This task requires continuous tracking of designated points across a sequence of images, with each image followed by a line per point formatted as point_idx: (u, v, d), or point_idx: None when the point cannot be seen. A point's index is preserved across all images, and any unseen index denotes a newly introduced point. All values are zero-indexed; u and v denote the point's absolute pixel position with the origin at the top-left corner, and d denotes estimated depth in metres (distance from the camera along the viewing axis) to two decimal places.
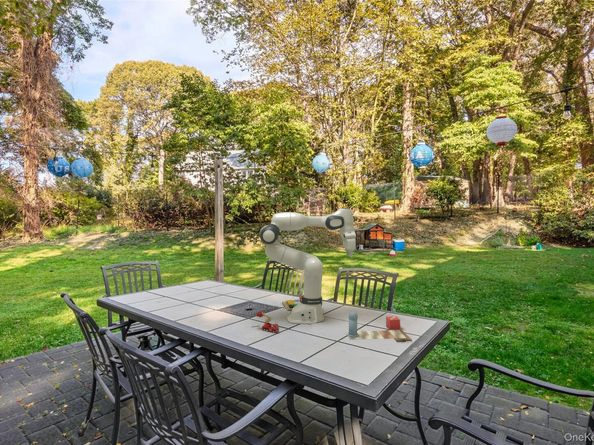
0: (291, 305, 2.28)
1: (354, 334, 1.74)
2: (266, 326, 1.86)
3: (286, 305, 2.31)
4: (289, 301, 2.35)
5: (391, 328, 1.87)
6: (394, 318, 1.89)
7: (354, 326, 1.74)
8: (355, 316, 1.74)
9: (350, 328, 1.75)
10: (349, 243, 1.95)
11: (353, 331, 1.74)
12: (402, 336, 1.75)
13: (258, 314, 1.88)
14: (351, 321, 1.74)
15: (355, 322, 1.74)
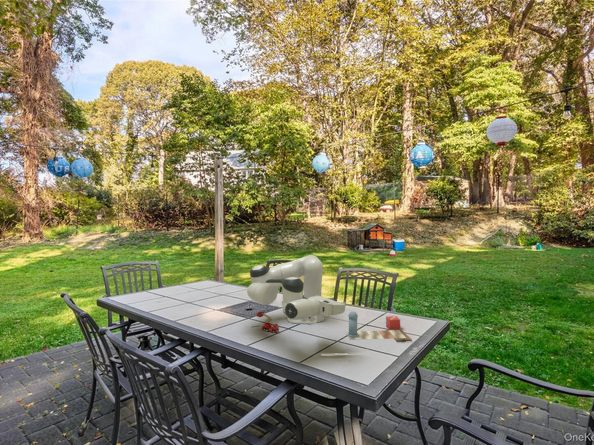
0: None
1: (354, 334, 1.74)
2: (266, 326, 1.86)
3: None
4: None
5: (391, 328, 1.87)
6: (394, 318, 1.89)
7: (354, 326, 1.74)
8: (355, 316, 1.74)
9: (350, 328, 1.75)
10: (338, 312, 1.53)
11: (353, 331, 1.74)
12: (402, 336, 1.75)
13: (258, 314, 1.88)
14: (351, 321, 1.74)
15: (355, 322, 1.74)
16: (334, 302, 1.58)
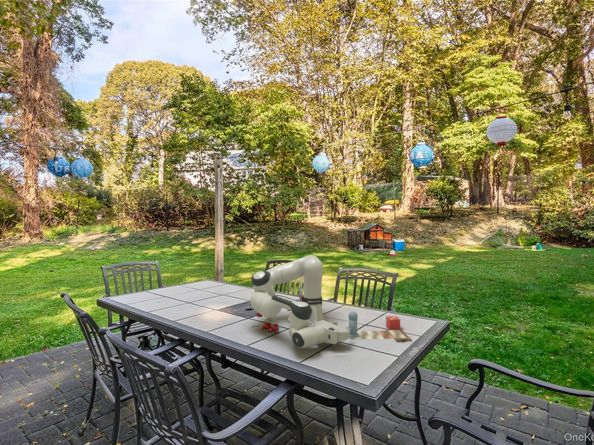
0: None
1: (354, 334, 1.74)
2: (266, 326, 1.86)
3: None
4: None
5: (391, 328, 1.87)
6: (394, 318, 1.89)
7: (354, 326, 1.74)
8: (355, 316, 1.74)
9: None
10: (343, 339, 1.58)
11: (353, 331, 1.74)
12: (402, 336, 1.75)
13: (258, 314, 1.88)
14: (351, 321, 1.74)
15: (355, 322, 1.74)
16: (339, 328, 1.63)
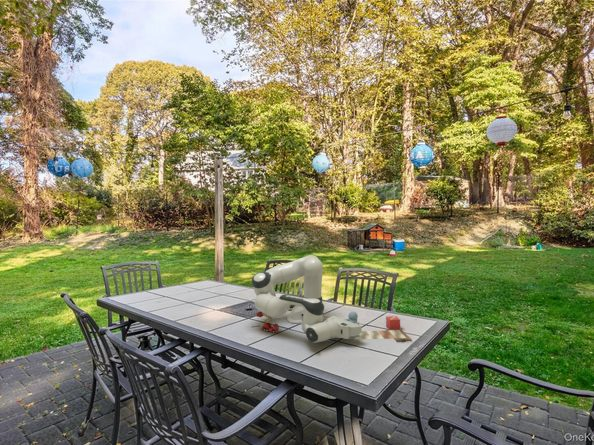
0: (291, 305, 2.28)
1: None
2: (266, 326, 1.86)
3: None
4: None
5: (391, 328, 1.87)
6: (394, 318, 1.89)
7: None
8: (355, 316, 1.74)
9: None
10: (355, 334, 1.63)
11: None
12: (402, 336, 1.75)
13: (258, 314, 1.88)
14: (351, 321, 1.74)
15: None
16: (351, 323, 1.68)
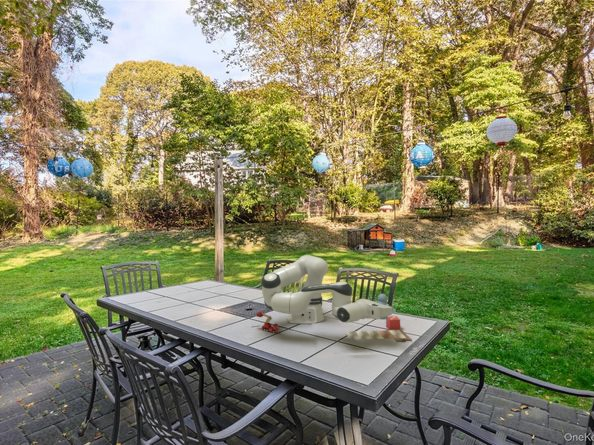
0: None
1: None
2: (266, 326, 1.86)
3: None
4: None
5: (391, 328, 1.87)
6: (394, 318, 1.89)
7: None
8: (385, 298, 1.73)
9: None
10: (386, 315, 1.63)
11: None
12: (402, 336, 1.75)
13: (258, 314, 1.88)
14: (381, 303, 1.73)
15: None
16: (381, 305, 1.68)
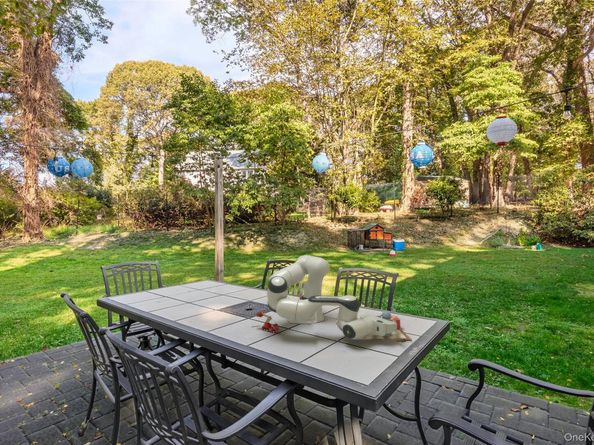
0: None
1: None
2: (266, 326, 1.86)
3: None
4: None
5: None
6: (394, 318, 1.89)
7: None
8: (389, 315, 1.75)
9: None
10: (391, 331, 1.64)
11: None
12: (402, 336, 1.75)
13: (258, 314, 1.88)
14: None
15: None
16: (386, 321, 1.69)
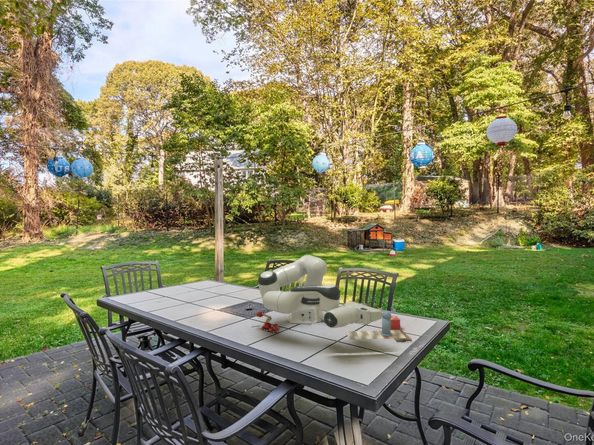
0: None
1: (388, 333, 1.75)
2: (266, 326, 1.86)
3: None
4: None
5: (391, 328, 1.87)
6: (394, 318, 1.89)
7: (388, 325, 1.75)
8: (389, 315, 1.75)
9: (384, 327, 1.76)
10: (376, 319, 1.55)
11: (387, 330, 1.75)
12: (402, 336, 1.75)
13: (258, 314, 1.88)
14: (385, 320, 1.75)
15: (389, 321, 1.75)
16: (370, 308, 1.60)
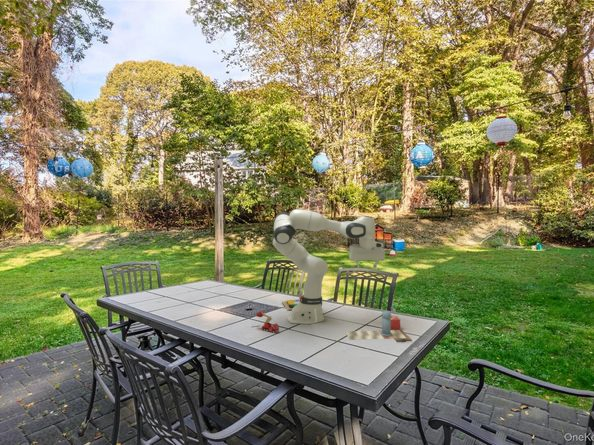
0: (291, 305, 2.28)
1: (388, 333, 1.75)
2: (266, 326, 1.86)
3: (286, 305, 2.31)
4: (289, 301, 2.35)
5: (391, 328, 1.87)
6: (394, 318, 1.89)
7: (388, 325, 1.75)
8: (389, 315, 1.75)
9: (384, 327, 1.76)
10: None
11: (387, 330, 1.75)
12: (402, 336, 1.75)
13: (258, 314, 1.88)
14: (385, 320, 1.75)
15: (389, 321, 1.75)
16: None
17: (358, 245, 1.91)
